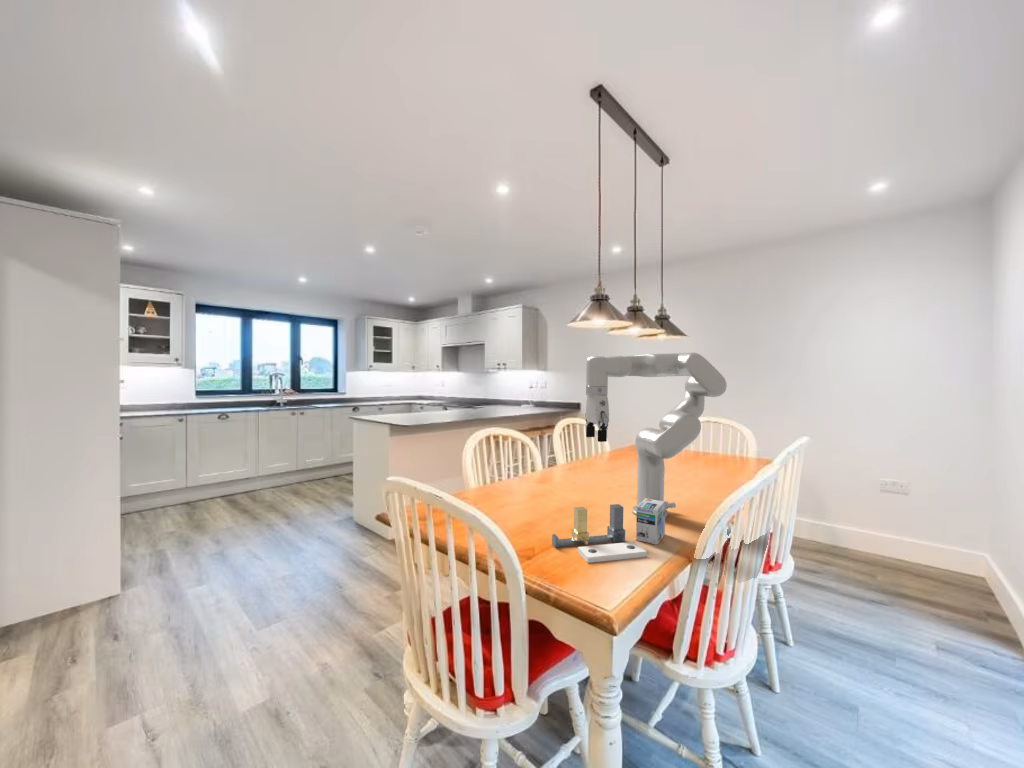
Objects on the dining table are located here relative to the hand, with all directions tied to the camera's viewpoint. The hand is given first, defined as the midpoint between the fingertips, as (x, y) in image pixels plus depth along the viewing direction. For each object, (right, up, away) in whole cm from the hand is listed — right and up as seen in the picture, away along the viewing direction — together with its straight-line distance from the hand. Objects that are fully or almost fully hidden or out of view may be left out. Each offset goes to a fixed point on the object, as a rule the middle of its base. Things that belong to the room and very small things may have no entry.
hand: (596, 439), depth 151 cm
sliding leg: (-9, -27, -23) cm, 37 cm away
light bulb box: (+14, -29, -16) cm, 36 cm away
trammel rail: (-6, -29, -22) cm, 37 cm away
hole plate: (-1, -29, -29) cm, 41 cm away
